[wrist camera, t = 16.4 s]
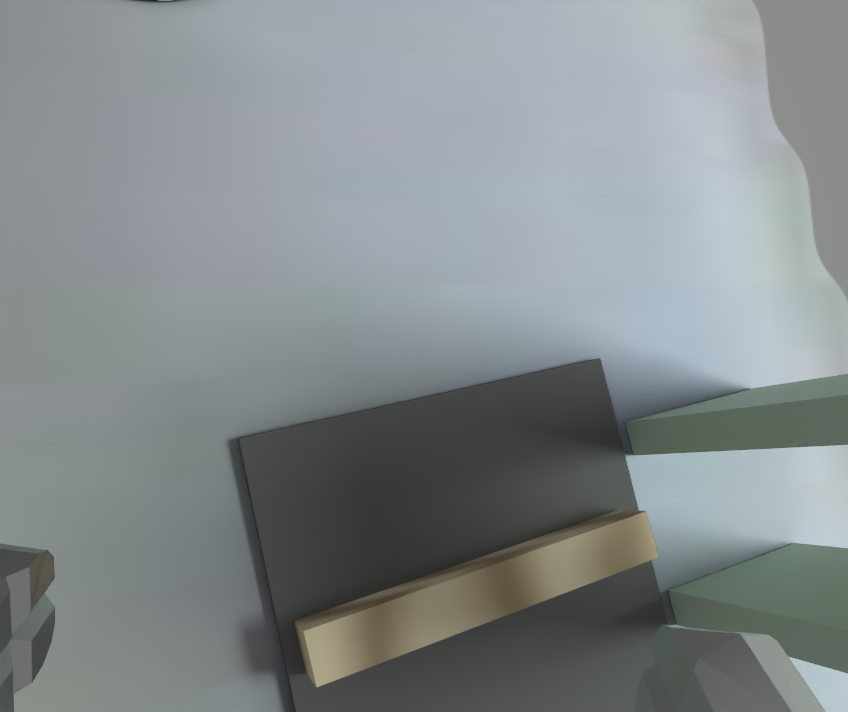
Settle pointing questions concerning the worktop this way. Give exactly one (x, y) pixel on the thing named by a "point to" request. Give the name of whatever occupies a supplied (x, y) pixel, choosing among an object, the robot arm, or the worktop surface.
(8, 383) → the worktop surface
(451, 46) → the worktop surface
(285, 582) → the mat
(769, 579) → the bridge
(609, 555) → the bar
